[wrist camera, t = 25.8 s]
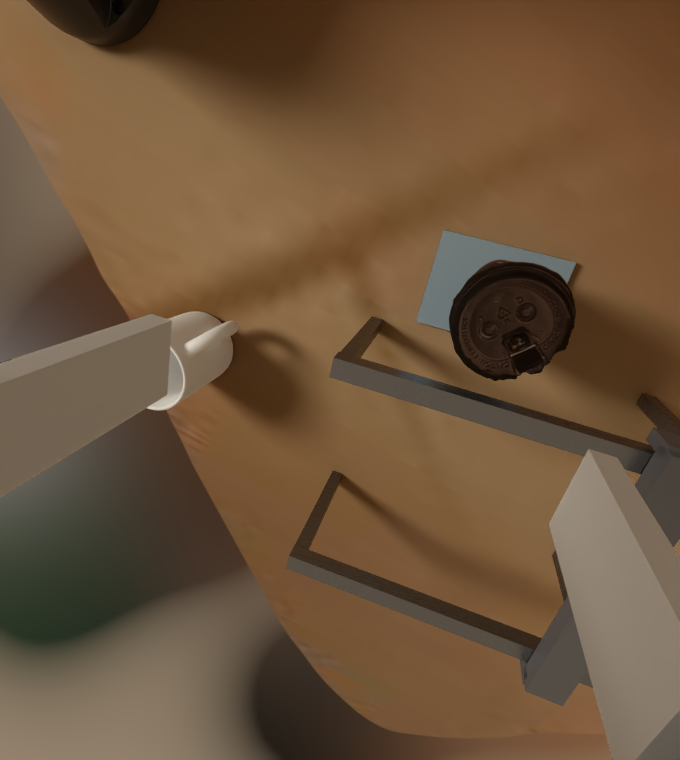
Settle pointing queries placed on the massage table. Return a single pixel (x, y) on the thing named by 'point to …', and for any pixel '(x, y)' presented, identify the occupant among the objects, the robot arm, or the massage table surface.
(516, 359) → the coffee cup
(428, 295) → the mat
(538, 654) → the bar
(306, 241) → the massage table surface
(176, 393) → the mug
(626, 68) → the massage table surface
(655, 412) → the frame
